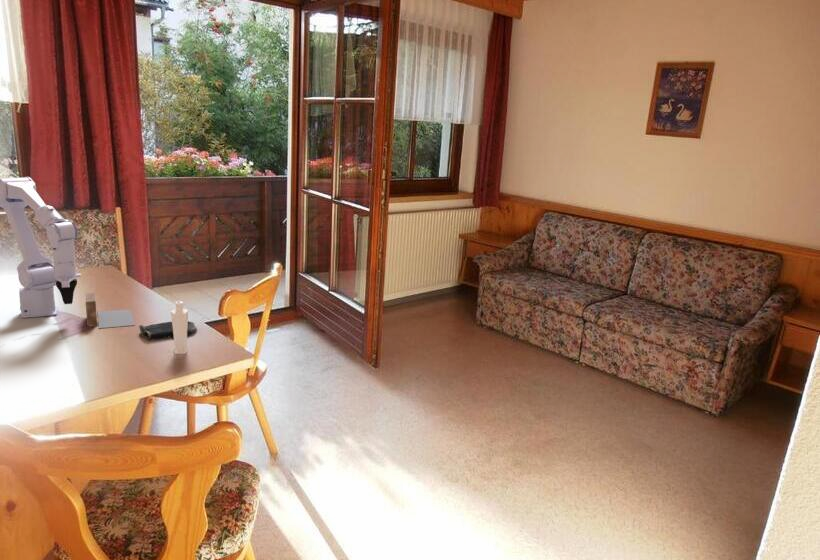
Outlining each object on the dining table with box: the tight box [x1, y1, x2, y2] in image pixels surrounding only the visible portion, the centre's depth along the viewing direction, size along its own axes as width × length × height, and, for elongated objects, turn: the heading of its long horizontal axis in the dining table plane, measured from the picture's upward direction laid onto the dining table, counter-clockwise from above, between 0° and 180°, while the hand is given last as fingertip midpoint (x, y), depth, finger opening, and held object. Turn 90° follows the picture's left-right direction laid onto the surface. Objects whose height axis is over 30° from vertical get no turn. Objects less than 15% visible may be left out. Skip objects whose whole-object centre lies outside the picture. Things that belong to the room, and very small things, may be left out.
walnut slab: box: [85, 292, 98, 326], centre depth 181 cm, size 3×9×8 cm, turn 29°
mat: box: [97, 308, 136, 330], centre depth 186 cm, size 10×16×1 cm, turn 29°
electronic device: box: [138, 320, 198, 341], centre depth 177 cm, size 10×6×15 cm
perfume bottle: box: [170, 300, 189, 355], centre depth 163 cm, size 5×4×15 cm
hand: (68, 303), depth 178 cm, fingers closed
